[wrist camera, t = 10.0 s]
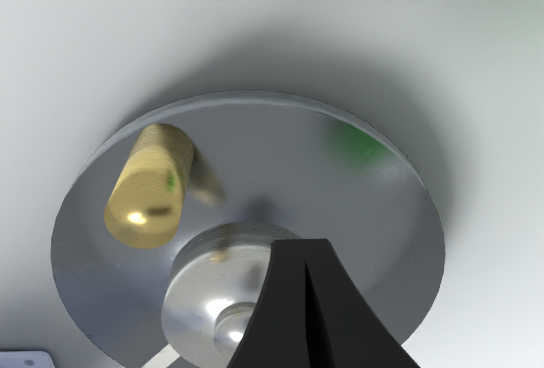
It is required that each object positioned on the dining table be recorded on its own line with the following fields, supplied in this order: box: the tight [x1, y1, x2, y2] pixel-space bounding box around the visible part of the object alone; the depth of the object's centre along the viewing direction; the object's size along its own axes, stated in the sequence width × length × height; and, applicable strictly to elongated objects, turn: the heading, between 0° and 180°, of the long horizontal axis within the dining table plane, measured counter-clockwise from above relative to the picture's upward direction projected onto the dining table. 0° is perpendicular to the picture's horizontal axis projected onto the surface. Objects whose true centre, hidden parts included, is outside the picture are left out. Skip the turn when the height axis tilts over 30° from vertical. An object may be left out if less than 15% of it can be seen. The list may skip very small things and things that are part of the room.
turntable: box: [51, 90, 445, 368], centre depth 19 cm, size 16×16×5 cm
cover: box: [161, 222, 303, 368], centre depth 19 cm, size 6×6×3 cm
